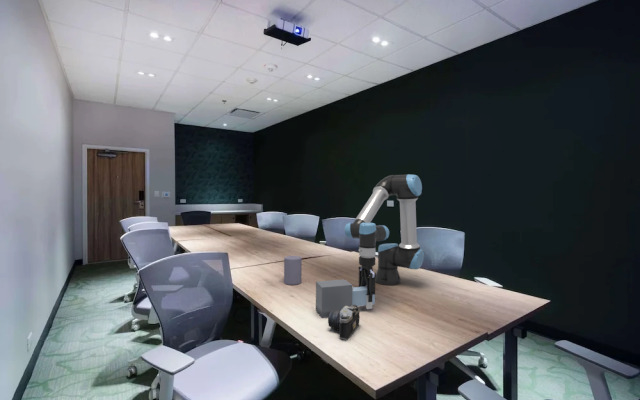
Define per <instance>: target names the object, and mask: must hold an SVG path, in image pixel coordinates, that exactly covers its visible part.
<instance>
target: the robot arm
mask: <svg viewBox="0 0 640 400" xmlns="http://www.w3.org/2000/svg"><path fill="white" fill-rule="evenodd" d="M422 190H423V185H422V180H421V179H420V177H419V175H416V174H409V173H408V174H391V175H388V176H385V177H384V178H383V179H381V180H380V181H379V182H378V183H377V184H376V185H375V186H374V187H373V190H372V194H371V196H370V197H369V198H368V200H367V202H365V204H364V206H363V207H362V209H361V210H360V212H359V213H358V215H357V216H356V218H355V219H354V221H353V222H349V223H346V224H345V227H344V234H345V236H346V237H347V238H349V239H356V240H358V241H359V244H358V255H359V257H358V265H360V266H358V287H364V286H367V294H366V305H365V309H366V310H370V309H371V310H372V309H373V305H372V295H375V296H376V283H377V284H379V285H384V286H396V285H400V284H401V277H400V274H399V271H398V267H399V268H405V269H409V270H419V269H420V268H421V267H422V265H423V262H424V259H425V252H424V250H423V249H421V248H420V247H421V245H420V244H419V243H418V239H417V238H418V235H417V234H418V233H417V210H416V208H417V205H416V201H417V200H418V199H419V196H421V195H422V193H423V192H422ZM390 196H396V200H397V201H399V213H400V214H399V215H400V217H399V219H400V238H401V239H400V240H401V242H400V243H399V244H398V243H395V242H394V243H391V242H390V243H382V244H379V245H378V249H376V248H377V247H376V243H377V242H383V241H386V240H387V239H388V238H389V236H390V230H389V228H388V227H387V226H386V225H385V224H384V225H383V224H382V225H381V224H378V225H376V223H374V222H372V221H373V219H374V217H375V216H376V215H377V212H378V211H379V209H380V208H381V206H382V205H383V203H384V201H385V200H388V199H389V197H390ZM376 250H378V251H376ZM376 253H377V255H378V256H377V269H376V270H377V271H376V272H374V270H373V267H374V266H375V265H376Z"/></svg>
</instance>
